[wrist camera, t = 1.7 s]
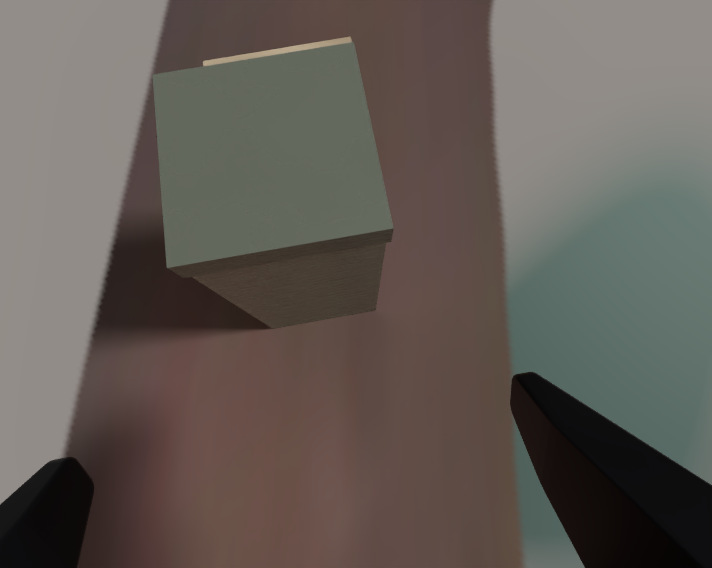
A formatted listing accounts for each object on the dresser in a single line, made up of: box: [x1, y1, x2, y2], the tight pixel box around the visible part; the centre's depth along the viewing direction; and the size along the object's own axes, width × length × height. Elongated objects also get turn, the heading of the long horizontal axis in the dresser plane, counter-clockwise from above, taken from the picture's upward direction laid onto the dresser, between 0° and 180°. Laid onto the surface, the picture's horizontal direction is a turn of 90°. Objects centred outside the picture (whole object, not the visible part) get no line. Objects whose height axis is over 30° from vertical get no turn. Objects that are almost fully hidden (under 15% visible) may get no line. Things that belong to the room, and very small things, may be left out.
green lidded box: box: [153, 42, 394, 329], centre depth 17 cm, size 6×6×12 cm
